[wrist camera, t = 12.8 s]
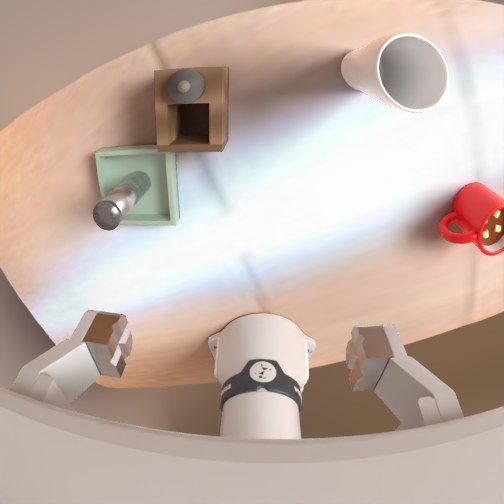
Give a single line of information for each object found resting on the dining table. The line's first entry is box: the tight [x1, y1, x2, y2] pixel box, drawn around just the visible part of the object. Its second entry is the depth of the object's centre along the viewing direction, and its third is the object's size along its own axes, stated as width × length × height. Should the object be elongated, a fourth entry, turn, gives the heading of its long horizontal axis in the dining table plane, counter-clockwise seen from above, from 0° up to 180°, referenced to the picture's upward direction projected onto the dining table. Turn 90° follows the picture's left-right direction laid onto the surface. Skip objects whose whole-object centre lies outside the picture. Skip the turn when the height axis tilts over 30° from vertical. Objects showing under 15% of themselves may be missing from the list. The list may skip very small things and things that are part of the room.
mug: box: [438, 182, 504, 256], centre depth 37 cm, size 8×12×8 cm, turn 114°
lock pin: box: [93, 171, 151, 230], centre depth 36 cm, size 3×3×11 cm
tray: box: [95, 144, 180, 225], centre depth 40 cm, size 10×10×2 cm
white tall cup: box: [341, 33, 449, 113], centre depth 26 cm, size 7×7×15 cm
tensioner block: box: [154, 67, 229, 152], centre depth 32 cm, size 9×7×8 cm
